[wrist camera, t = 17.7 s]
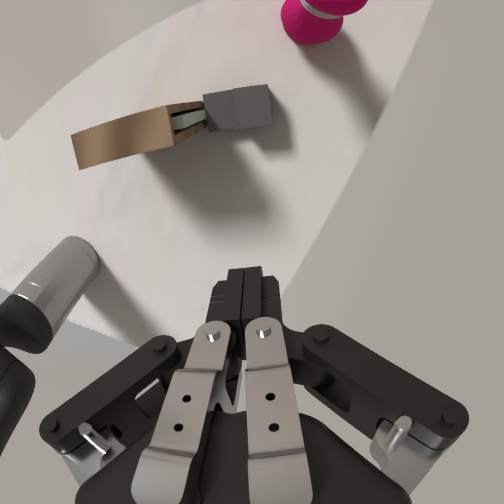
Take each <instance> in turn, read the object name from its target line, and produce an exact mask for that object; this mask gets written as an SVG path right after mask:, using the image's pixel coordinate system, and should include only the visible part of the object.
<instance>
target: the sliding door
mask: <svg viewBox="0 0 504 504" xmlns="http://www.w3.org/2000/svg"><path fill="white" fill-rule="evenodd" d="M171 119H172V124H173V129H174V130H177V129H182V128H186V127H188V126H190V125H192V124H195V123H197V122H199V121H201V120H204V119H206V113H205V109H204V110H198V111H193V112H188V113H184V114H179V115H174V116H171Z"/></svg>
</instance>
